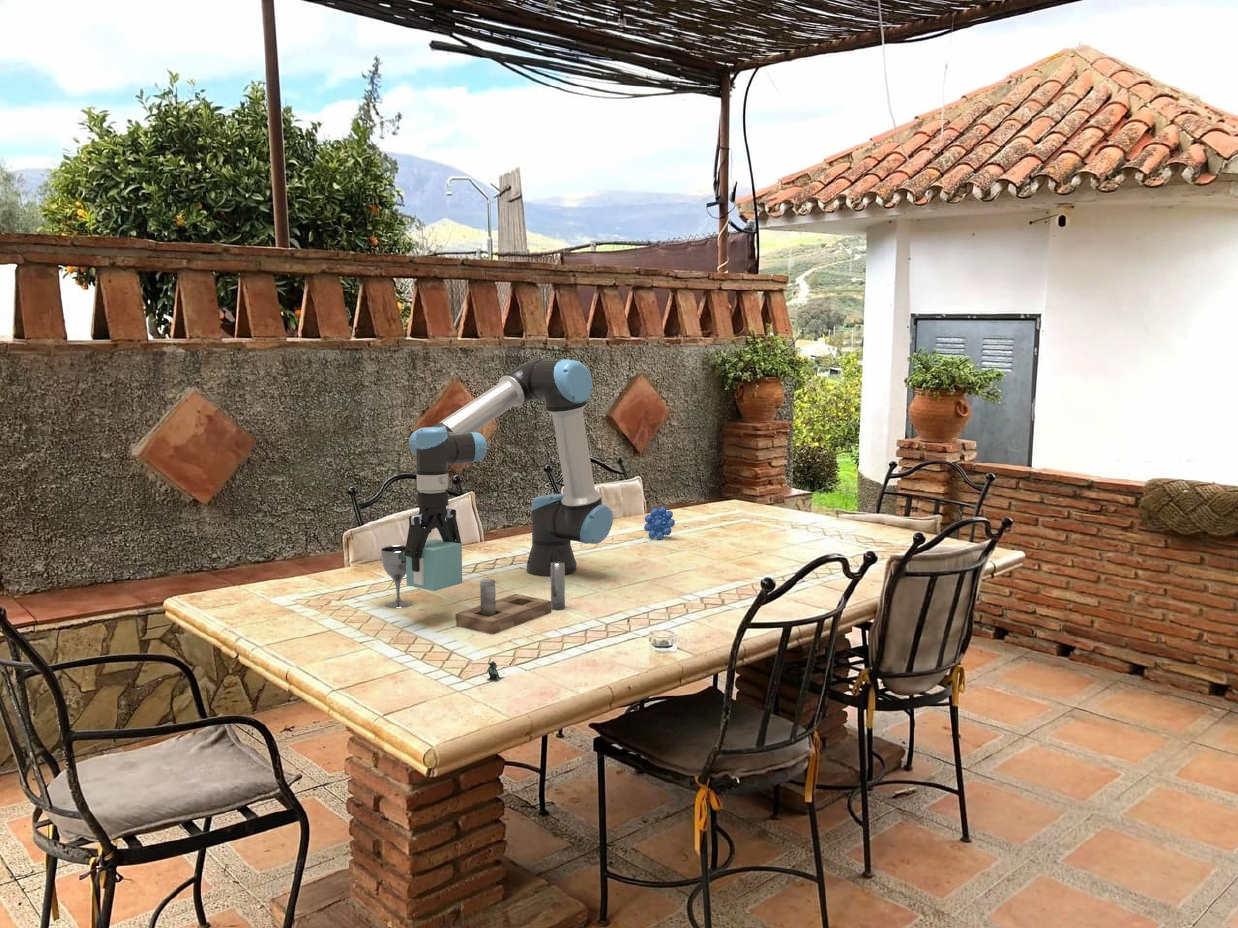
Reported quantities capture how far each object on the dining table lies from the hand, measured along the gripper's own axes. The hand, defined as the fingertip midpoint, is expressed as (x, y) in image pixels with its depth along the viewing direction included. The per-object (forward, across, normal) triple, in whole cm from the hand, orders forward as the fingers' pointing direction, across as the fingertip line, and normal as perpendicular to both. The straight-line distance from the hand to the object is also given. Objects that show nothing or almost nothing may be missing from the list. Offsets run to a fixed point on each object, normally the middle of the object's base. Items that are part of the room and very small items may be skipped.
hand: (434, 579), depth 233 cm
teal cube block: (+1, 0, 0) cm, 1 cm away
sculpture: (+11, -23, -41) cm, 48 cm away
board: (+10, +10, -14) cm, 20 cm away
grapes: (+10, +113, +5) cm, 114 cm away
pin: (+10, +25, -19) cm, 33 cm away
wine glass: (+10, +4, +18) cm, 21 cm away
